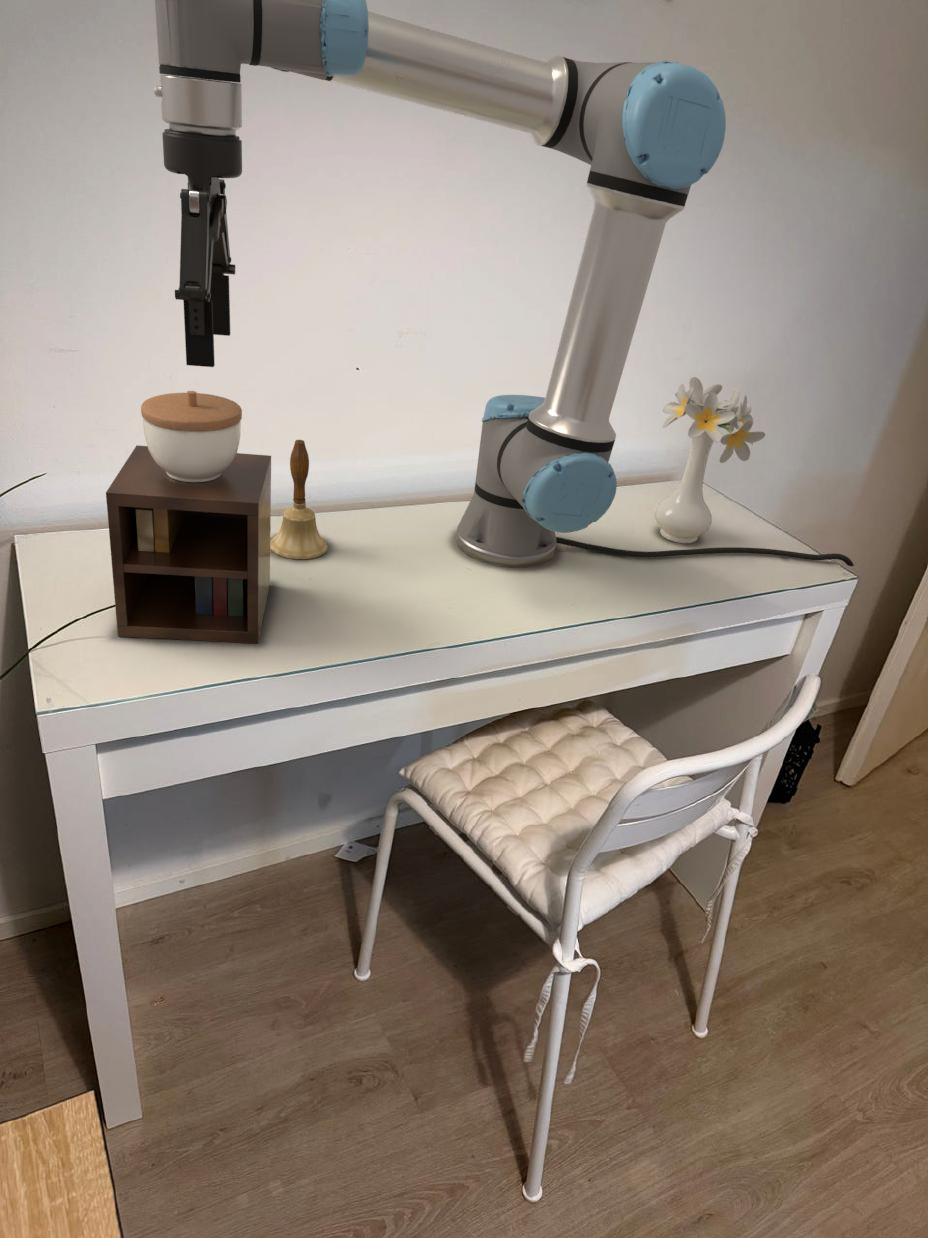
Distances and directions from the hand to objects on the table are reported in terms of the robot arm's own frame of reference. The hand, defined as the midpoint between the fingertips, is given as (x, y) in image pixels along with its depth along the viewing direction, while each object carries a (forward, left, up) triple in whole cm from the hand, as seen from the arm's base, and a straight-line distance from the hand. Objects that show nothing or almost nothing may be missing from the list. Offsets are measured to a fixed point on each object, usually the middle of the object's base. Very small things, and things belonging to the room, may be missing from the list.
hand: (209, 349), depth 100 cm
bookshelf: (+2, +2, -32) cm, 32 cm away
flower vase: (-71, -31, -32) cm, 84 cm away
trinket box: (+2, +2, -14) cm, 14 cm away
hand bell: (-9, -18, -32) cm, 38 cm away
